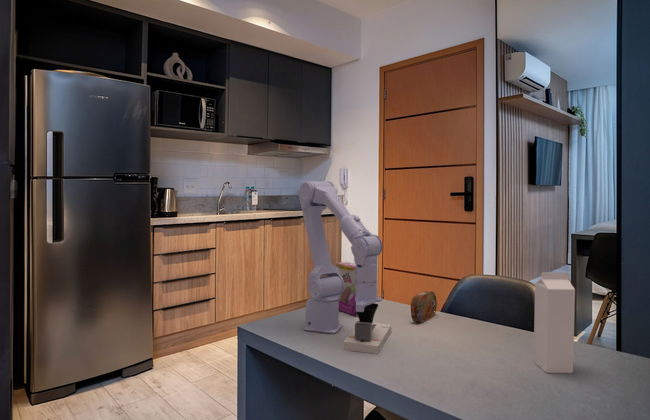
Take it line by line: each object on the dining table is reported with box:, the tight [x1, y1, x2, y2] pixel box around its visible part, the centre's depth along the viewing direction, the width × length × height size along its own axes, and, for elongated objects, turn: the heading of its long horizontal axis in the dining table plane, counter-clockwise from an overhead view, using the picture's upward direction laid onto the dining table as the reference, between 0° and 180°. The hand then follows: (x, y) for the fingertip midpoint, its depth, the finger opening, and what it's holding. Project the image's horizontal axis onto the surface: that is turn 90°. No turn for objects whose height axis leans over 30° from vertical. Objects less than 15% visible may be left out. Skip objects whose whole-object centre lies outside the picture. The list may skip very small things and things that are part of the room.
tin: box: [410, 290, 438, 324], centre depth 131 cm, size 15×3×8 cm, turn 142°
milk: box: [533, 271, 576, 374], centre depth 94 cm, size 6×6×22 cm
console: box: [342, 322, 392, 355], centre depth 111 cm, size 9×18×2 cm, turn 160°
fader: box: [354, 320, 372, 341], centre depth 106 cm, size 4×2×4 cm, turn 70°
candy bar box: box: [335, 261, 358, 318], centre depth 138 cm, size 11×5×16 cm, turn 37°
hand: (366, 331), depth 109 cm, fingers closed
